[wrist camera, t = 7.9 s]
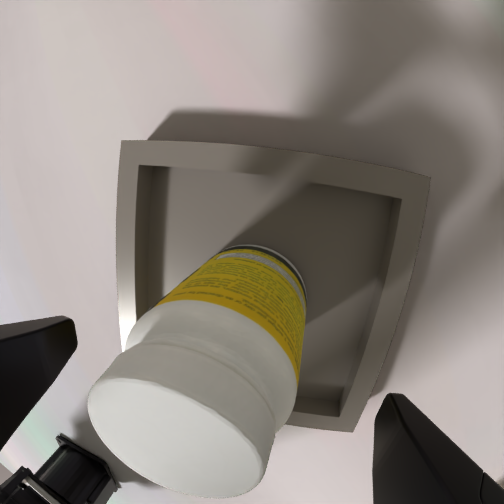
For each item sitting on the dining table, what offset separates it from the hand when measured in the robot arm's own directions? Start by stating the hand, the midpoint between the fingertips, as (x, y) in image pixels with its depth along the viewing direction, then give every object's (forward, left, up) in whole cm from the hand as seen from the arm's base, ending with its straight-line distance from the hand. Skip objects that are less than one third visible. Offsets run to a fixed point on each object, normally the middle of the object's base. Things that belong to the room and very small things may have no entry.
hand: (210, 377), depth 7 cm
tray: (0, 0, -6) cm, 7 cm away
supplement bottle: (0, 0, -6) cm, 6 cm away
